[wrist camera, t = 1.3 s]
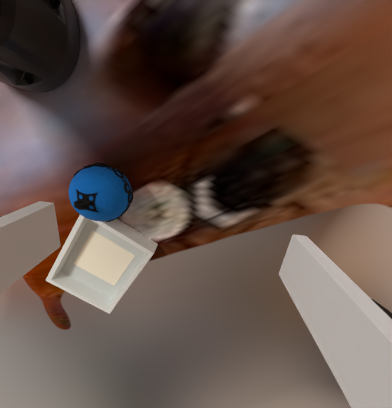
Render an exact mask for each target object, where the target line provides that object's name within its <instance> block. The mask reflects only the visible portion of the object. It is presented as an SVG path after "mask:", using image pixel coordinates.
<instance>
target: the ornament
mask: <svg viewBox="0 0 392 408" xmlns="http://www.w3.org/2000/svg"><path fill="white" fill-rule="evenodd" d="M69 199H70V201H71V204H72V206H73V207H74V209H75V210H76V211H77V212H78V213H79V214H80V215H82V216H83V217H85V218H87V219H90V220H94V221H102V222H103V221H106V222H110V221H113V220H115V219H116V218H118V217H119V216H122V215H123V214H124V213H125V212H126V211H127V210H128V208H129V206H130V203H131V202H132V200H133V192H132V189H131V185H130V183H129V181H128V179H127V178H126V177H125V175H124V174H122V173H121V172H120V171H119V170H117V169H115V168H113V167H110V166H109V164H105V163H95V164H93V165H88V166H84V168H83V169H81V170H79V171H77V172H76V173H75V174H74V178H73V179H72V181H71V183H70V186H69Z"/></svg>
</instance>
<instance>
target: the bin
mask: <svg viewBox="0 0 392 408" xmlns="http://www.w3.org/2000/svg"><path fill="white" fill-rule="evenodd" d="M157 245H158V244H157V243H155V242H154V241H152V240H151V239H149V238H147V237H146V236H144V235H142V234H141V233H139V232H138V231H136V230H134V229H133V228H131V227H129V226H128V225H126V224H124V223H123V222H121V221H120V220H118V219H115V220H113V221H110V222H106V221H103V222H102V221H94V220H90V219H87V218H85V217H83V216H82V215H80V216H79V217H78V219H77V221H76V223H75V225H74V227H73V229H72V231H71V233H70V235H69V237H68V238H67V240H66V242H65V244H64V246H63V248H62V250H61V252H60V254H59V256H58V257H57V259H56V261H55V263H54V265H53V267H52V269H51V271H50V273H49V275H48V277H47V278H46V281H47V282H49V283H51V284H53V285H55V286H57V287H59V288H61V289H63V290H65V291H67V292H69V293H70V294H72V295H74V296H76V297H79V298H80V299H82V300H84V301H86V302H88V303H90V304H92V305H94V306H95V307H98V308H99V309H101V310H103V311H105V312H107V313H110V312H111V311H112V309H113V308H114V307H115V305H116V304H117V303H118V301H119V300H120V299H121V297H122V296H123V295H124V293H125V292H126V291H127V289H128V288H129V286H130V285H131V284H132V282H133V281H134V280H135V278H136V277H137V276H138V274H139V273H140V272H141V270H142V269H143V268H144V266H145V265H146V263H147V262H148V261H149V259H150V258H151V257H152V255H153V254H154V252H155V250H156V248H157Z"/></svg>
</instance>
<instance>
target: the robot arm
mask: <svg viewBox="0 0 392 408" xmlns="http://www.w3.org/2000/svg"><path fill="white" fill-rule="evenodd" d="M79 48H80V33H79V25H78V20H77V16H76V13H75V9H74V7H73V4H72V2H71V0H0V81H1V82H3V83H5V84H8V85H10V86H13V87H17V88H20V89H24V90H28V91H33V92H44V91H49V90H52V89H54V88H57V87H58V86H60V85H61V84H63V83H64V82H65V81H66V80H67V79H68V77H69V76H70V75H71V73H72V71H73V70H74V67H75V65H76V62H77V59H78V55H79ZM59 247H60V240H59V234H58V227H57V220H56V214H55V207H54V203H49V202H41V201H39V202H37V203H34V204H32V205H29V206H27V207H24V208H22V209H20V210H17V211H15V212H12V213H10V214H7V215H5V216H2V217H0V293H2V292H3V291H4V290H6V289H7V288H8V287H9V286H11V285H12V284H13V283H14V282H16V281H17V280H18V279H20V278H21V277H22V276H23V275H25V274H26V273H27V272H28V271H30V270H31V269H32V268H34V267H35V266H36V265H37V264H39V263H40V262H41V261H42V260H44V259H45V258H46V257H48V256H49V255H50V254H51V253H53V252H54V251H55V250H56V249H58V248H59ZM279 276H280V278H281V280H282V281H283V283H284V285H285V287H286V289H287V291H288V292H289V294H290V296H291V298H292V299H293V301H294V303H295V305H296V307H297V309H298V311H299V313H300V314H301V316H302V318H303V320H304V322H305V323H306V325H307V327H308V329H309V331H310V333H311V334H312V336H313V338H314V340H315V342H316V344H317V345H318V347H319V349H320V351H321V353H322V355H323V356H324V358H325V360H326V362H327V364H328V366H329V367H330V369H331V371H332V373H333V375H334V377H335V378H336V380H337V382H338V384H339V386H340V387H341V389H342V391H343V393H344V395H345V397H346V398H347V400H348V402H349V404H350V406H351V407H352V408H392V313H391V312H390V311H388V310H387V309H385V308H384V307H383V306H381V305H380V304H378V303H377V302H376V301H374V300H373V299H370V298H369V297H368V296H367V295H366V294H365V293H364V292H363V291H362V290H361V289H360V288H359V287H358V286H357V285H356V284H355V283H354V282H353V281H352V280H351V279H350V278H349V277H348V276H347V275H346V274H345V273H344V272H343V271H341V270H340V268H339V267H337V265H335V264H334V263H333V262H332V261H331V260H330V259H329V258H328V257H327V256H326V255H325V254H324V253H323V252H322V251H321V250H320V249H319V248H318V247H317V246H316V245H315V244H314V243H313V242H312V241H311V240H310V239H309V238H308V237H307V236H301V235H292V238H291V241H290V244H289V246H288V249H287V252H286V255H285V258H284V260H283V263H282V266H281V269H280V272H279Z"/></svg>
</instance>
